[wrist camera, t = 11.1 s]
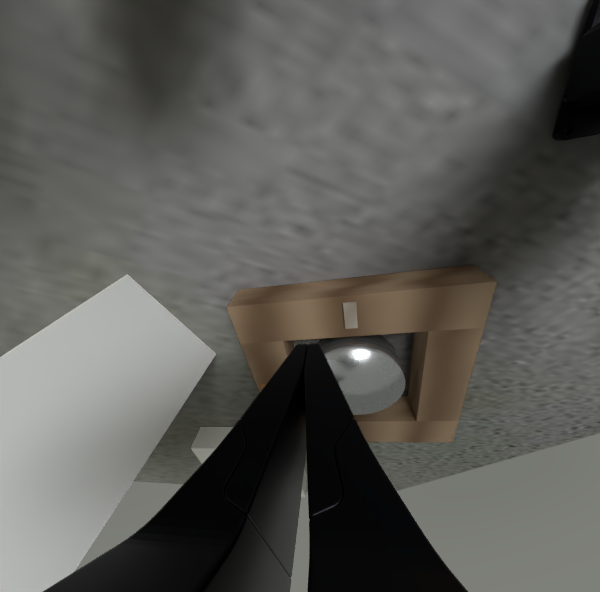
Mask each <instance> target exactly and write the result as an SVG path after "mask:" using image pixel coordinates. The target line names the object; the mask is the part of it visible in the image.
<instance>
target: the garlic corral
mask: <svg viewBox="0 0 600 592" xmlns="http://www.w3.org/2000/svg"><path fill="white" fill-rule="evenodd" d="M232 428H233V427H200V429H199V431H198V434H197V436H196V438H195V440H194V442H193V444H192V446H191V450H192V451H193V452H194V454H195V455H196V456H197V458H198V459H199V461H200V462H201V463H202V464H203V463H204V461H205V460H206V459H207V458H208V457H209V456H210V455H211V453H212V452H213V451H214V450H215V449H216V448H217V447H218V445H219V444H220V443H221V442H222V440H223V439H224V438H225V437H226V435H227V434H228V433H229V432H230V431H231V429H232ZM306 482H307V474H306V471H305V467H304V475H303V484H302V492H301V497H306Z"/></svg>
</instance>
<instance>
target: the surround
mask: <svg viewBox="0 0 600 592" xmlns="http://www.w3.org/2000/svg"><path fill="white" fill-rule="evenodd" d="M496 284H497V281H496V280H495V279H493V278H492V277H490V276H489V275H487V274H486V273H485V272H483V271H482V270H480V269H479V268H477V267H476V266H474V265H465V266H456V267H446V268H437V269H428V270H419V271H409V272H400V273H391V274H382V275H372V276H363V277H354V278H345V279H335V280H326V281H317V282H308V283H298V284H289V285H280V286H271V287H262V288H252V289H243V290H238V291H237V293H236V294H235V296H234V297H233V299H232V300H231V302H230V303H229V304H228V306H227V310H228V312H229V315H230V318H231V320H232V323H233V325H234V328H235V331H236V333H237V336H238V338H239V341H240V344H241V346H242V349H243V351H244V354H245V357H246V359H247V362H248V364H249V367H250V370H251V372H252V375H253V377H254V380H255V383H256V385H257V388H258V390H259V393H260V392H261V390H262V389H263V388H264V386H265V385H266V384H267V383H268V381H269V380H270V379H271V377H272V376H273V375H274V373H275V372H276V371H277V370H278V368H279V367H280V366H281V364H282V363H283V362H284V360H285V359H286V358H287V357H288V355H289V354H290V353H291V351H292V350H293V349H294V345H293V341H292V340H306V339H321V338H336V337H351V336H366V335H381V334H397V333H412V332H414V336H413V347H412V358H411V369H410V380H409V390H408V396H401V397H400V398H399V399H398V400H397V401H396V402H395V403H394V404H393V405H391V406H390V407H388V408H386V409H384V410H381V411H379V412H375V413H371V414H364V415H354V418H355V419H356V421H357V423H358V425H359V427H360V429H361V432H362V433H363V435H364V437H365V439H366V441H367V442H448V443H453V439H454V435H455V432H456V428H457V425H458V421H459V417H460V414H461V410H462V407H463V403H464V399H465V396H466V392H467V389H468V385H469V381H470V378H471V374H472V371H473V367H474V363H475V360H476V356H477V353H478V349H479V345H480V342H481V338H482V335H483V331H484V327H485V324H486V320H487V317H488V313H489V309H490V306H491V302H492V299H493V295H494V291H495V288H496Z"/></svg>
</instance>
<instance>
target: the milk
mask: <svg viewBox="0 0 600 592" xmlns="http://www.w3.org/2000/svg"><path fill="white" fill-rule="evenodd" d="M215 356H216V353H215V352H214V351H212V350H211V349H210V348H209V347H208V346H207V345H206V344H205V343H203V342H202V341H201V340H200V339H199V338H198V337H197V336H196V335H195V334H193V333H192V332H191V331H190V330H189V329H188V328H187V327H186V326H184V325H183V324H182V323H181V322H180V321H179V320H178V319H177V318H176V317H174V316H173V315H172V314H171V313H170V312H169V311H168V310H167V309H166V308H164V307H163V306H162V305H161V304H160V303H159V302H158V301H157V300H155V299H154V298H153V297H152V296H151V295H150V294H149V293H148V292H147V291H145V290H144V289H143V288H142V287H141V286H140V285H139V284H138V283H136V282H135V281H134V280H133V279H132V278H131V277H130V276H129V275H128V274H127V275H125V276H124V277H122V278H121V279H119V280H118V281H116V282H115V283H113V284H112V285H110V286H108V287H107V288H105V289H104V290H102V291H101V292H99V293H98V294H96V295H95V296H93V297H92V298H90V299H89V300H87V301H85V302H84V303H82V304H81V305H79V306H78V307H76V308H75V309H73V310H72V311H70V312H69V313H67V314H66V315H64V316H62V317H61V318H59V319H58V320H56V321H55V322H53V323H52V324H50V325H49V326H47V327H46V328H44V329H43V330H41V331H39V332H38V333H36V334H35V335H33V336H32V337H30V338H29V339H27V340H26V341H24V342H23V343H21V344H19V345H18V346H16V347H15V348H13V349H12V350H10V351H9V352H7V353H6V354H4V355H3V356H1V357H0V592H43V591H44V590H46V589H47V588H49V587H51V586H52V585H54V584H56V583H57V582H59V581H60V580H62V579H64V578H65V577H67V576H68V575H70V574H72V573H73V572H74V571H75V570H76V568H77V567H78V565H79V564H80V562H81V560H82V559H83V557H84V556H85V554H86V553H87V551H88V550H89V548H90V547H91V545H92V544H93V542H94V541H95V539H96V538H97V536H98V535H99V533H100V531H101V530H102V528H103V527H104V525H105V524H106V522H107V521H108V519H109V518H110V516H111V515H112V513H113V512H114V510H115V508H116V507H117V505H118V504H119V502H120V501H121V499H122V498H123V496H124V495H125V493H126V492H127V490H128V489H129V487H130V486H131V484H132V483H133V481H134V479H135V478H136V476H137V475H138V473H139V472H140V470H141V469H142V467H143V466H144V464H145V463H146V461H147V460H148V458H149V457H150V455H151V453H152V452H153V450H154V449H155V447H156V446H157V444H158V443H159V441H160V440H161V438H162V437H163V435H164V434H165V432H166V431H167V429H168V427H169V426H170V424H171V423H172V421H173V420H174V418H175V417H176V415H177V414H178V412H179V411H180V409H181V408H182V406H183V405H184V403H185V401H186V400H187V398H188V397H189V395H190V394H191V392H192V391H193V389H194V388H195V386H196V385H197V383H198V382H199V380H200V379H201V377H202V375H203V374H204V372H205V371H206V369H207V368H208V366H209V365H210V363H211V362H212V360H213V359H214V357H215Z"/></svg>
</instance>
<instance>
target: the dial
mask: <svg viewBox="0 0 600 592" xmlns="http://www.w3.org/2000/svg"><path fill="white" fill-rule="evenodd" d="M319 344H320V346H321V348H322V350H323V352H324V354H325V356H326V359H327V361H328V363H329V365H330V367H331V369H332V371H333V373H334V375H335V377H336V379H337V382H338V384H339V386H340V388H341V390H342V392H343V394H344V396H345V398H346V400H347V403H348V405H349V407H350V409H351V411H352V413H353V415H364V414H371V413H375V412H379V411H381V410H384V409H386V408H388V407H390V406H391V405H393V404H394V403H395V402H396V401H397V400H398V399H399V398H400V397H401V395H402V394H403V392H404V389H405V377H404V374H403V371H402V369H401V366H400V363H399V361H398V358H397V355H396V352H395V350H394V348H393V346H392V345H391V344H390V343H389V342H388V341H387V340H386V339H385V338H383V337H382V336H380V335H366V336H351V337H336V338H324V339H323V340H321V341H320V342H319Z"/></svg>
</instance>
